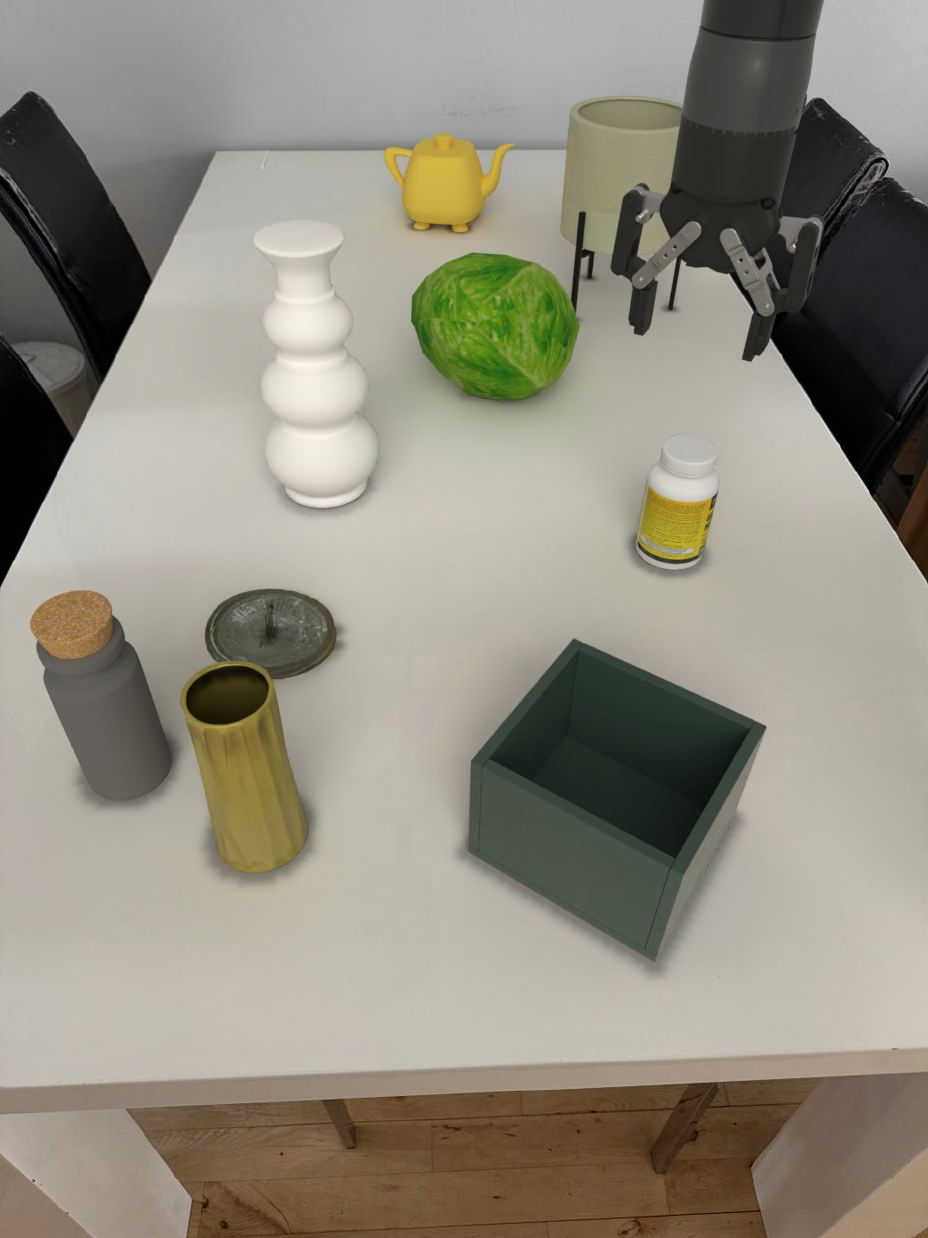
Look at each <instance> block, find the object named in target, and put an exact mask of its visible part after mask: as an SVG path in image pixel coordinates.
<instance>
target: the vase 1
mask: <svg viewBox="0 0 928 1238" xmlns="http://www.w3.org/2000/svg"><path fill="white" fill-rule="evenodd" d="M181 689H182V690H181V693H180V698H179V704H180V708H181V711H182V713H183V715H184V718H185V723H186V726H187V731H188V733H189V736H190V739H191V742H192V746H193V748H194V753H195V757H196V761H197V765H198V769H199V773H200V777H201V782H202V786H203V791H204V794H205V795H204V796H205V799H206V805H207V809H208V813H209V816H210V817H209V818H210V820H211V824H212V830H213V833H214V845H215V848H216V851H217V853H218V856H219V857H220V859H221V860H222V862H224V863H225V864H226V865H228V866H229V867H231V868H232V869H235V870H238V871H240V872H242V873H243V872H244V873H249V874H251V873H252V874H257V873H265V872H270V871H273V870H276V869H278V868H280V867H283V866H284V865H285V864H286V863H288V862H289V861H291V860H292V859H293V858H294V857H295V856H296V855H298V853H299V852H300V850H301V849H302V847H303V845H304V844H305V842H306V838H307V836H308V821H307V817H306V815H305V813H304V810H303V805H302V802H301V797H300V794H299V791H298V786H297V783H296V780H295V779H296V778H295V776H294V773H293V772H294V771H293V770H292V765H291V762H290V758H289V754H288V749H287V745H286V739H285V738H286V737H285V734H284V727H283V722H282V716H281V711H280V706H279V700H278V695H277V691H276V688H275V685H274V680H272V678H271V677H270V675H269V674H268V672H267V671H266V670H264V669H263V668H261V667H260V666H258V665H256V664H254V663H251V662H246V661H223V662H219V663H218V662H216V663H215V662H214V663H213V664H210V665H207V666H205V667H203V668H201V669H199V670H198V671H196V672H195V673H194V674H193V675H192V676H191V677H190V678H189V679H188V680H187V681H186V682H185V684H184V685H183V687H182V688H181Z"/></svg>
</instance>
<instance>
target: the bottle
mask: <svg viewBox="0 0 928 1238" xmlns="http://www.w3.org/2000/svg"><path fill="white" fill-rule="evenodd" d="M29 629H30V632H31V633H32V635H33V636H34V637H35V639H36V644H35V649H36V653H37V654H36V655H37V656H38V658H39V661H40V663H41V665H42V666H43V667H44V670H43V674H42V675H43V676H42V677H43V678H42V679H43V684H44V686H45V690H46V693H47V694H48V697H49V699H50V701H51V704H52V706H53V709H54V711H55V712H56V715H57V717H58V720H59V722H60V724H61V727H62V728H63V731H64V733H65V735H66V737H67V739H68V742H69V744H70V745H71V748H72V750H73V752H74V755H75V757H76V759H77V762H78V763H79V766H80V768H81V770H82V772H83V774H84V776H85V779H86V780H87V782H88V784H89V786H90V788H91V789H92V791H93V792H94V793H96V794H97V795H98V796H100V797H102V798H104V799H106V800H110V801H111V800H112V801H128V800H134V799H137V798H140V797H142V796H145V795H147V794H148V793H150V792H152V791H153V790H155V789H156V788H158V787H159V785H160V784H161V783H162V782H163V781H164V780H165V779H166V777H167V776H168V774H169V772H170V769H171V766H172V755H171V751H170V747H169V743H168V739H167V737H166V733H165V731H164V728H163V725H162V722H161V718H160V716H159V713H158V709H157V707H156V704H155V700H154V697H153V695H152V692H151V689H150V686H149V683H148V679H147V677H146V673H145V671H144V669H143V665H142V663H141V659H140V656H139V655H138V652H137V650H136V649H135V647H134V646H133V645H132V644H131V643H130V642H129V641H127V640H126V633H125V630H124V628H123V625H122V623H121V621H120V620H119V619H118V618H117V617H116V616H115V615H114V614H113V608H112V603H111V602H110V600H109V599H108V598H107V597H106V596H105V595H104V594H101V593H100V592H96V591H94V590H93V591H92V590H83V589H79V590H70V591H66V592H62V593H60V594H57V595H55V596H53V597H50V598H49V599H47V600H46V601H44V602H43V603H42V604H40V605H39V606H38V607H37V608H36V609H35V611H34V612H33V613H32V615H31V618H30V621H29Z"/></svg>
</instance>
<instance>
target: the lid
mask: <svg viewBox="0 0 928 1238" xmlns="http://www.w3.org/2000/svg"><path fill="white" fill-rule="evenodd" d="M336 627H337V626H336V625H335V621H334V617H333V615H332V613H331V611H330V609H329V608H328V607H326V606H325V604H323V603H322V602H320V601H319V600H318V599H317V598H313V597H311V596H309V595H308V594H304V593H301V592H298V591H295V590H291V589H290V590H288V589H283V588H259V589H258V588H257V589H251V590H247V591H244V592H240V593H237V594H235V595H232V596H230V597H229V598H227V599H225V600H224V601H222V602H220V603H219V604H218V605H217V606H216V607H215V609H214V610H213V611H212V613H211V614H210V615H209V618H208V619H207V622H206V625H205V628H204V642H205V646H206V647H205V648H206V650H207V652H208V654H209V655H210V657H211V658H212V659H213V661H215V662H216V663H219V662H223V661H246V662H251V663H254V664H256V665H258V666H260V667H261V668H263V669H264V670H266V671H267V672H268V674H269V675H270V677H271V678H272V681H274V680H275V681H276V680H284V679H285V680H286V679H290V678H293V677H297V676H300V675H302V674H303V675H304V674H305V673H308V672H310V671H312V670H314V669H315V668H316V667H318V666H320V665H321V664H323V662H324V661H325V660H326V659H327V658H329V656H330V655H331V653H332V652H333V651H334V650H335V648H336V647H335V646H336V643H337V639H338V632H337V628H336Z"/></svg>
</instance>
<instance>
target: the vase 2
mask: <svg viewBox="0 0 928 1238" xmlns="http://www.w3.org/2000/svg"><path fill="white" fill-rule="evenodd" d="M345 240H346V235H345V232H344V231H343V230H342V229H341V228H340V227H338V226H337V225H335V224H332V223H330V222H325V221H321V220H315V219H291V220H282V221H279V222H275V223H271V224H268V225H267V226H263V227H262V228H260V229H259V230H258V231H256V232H255V234H254V235H253V237H252V243H253V246H254V247H255V248H256V249H257V250H258V252H259V253H260V254H261V255H262V256H263V257H264V258H265V259H266V260H267V261H268V262H269V263H270V264H271V266H272V267H273V270H274V273H275V279H276V280H275V281H276V287H275V288H274V291H273V299H272V300H271V301H270V302H269V303H268V305H267V306H266V308H265V310H264V312H263V315H262V328H263V331H264V333H265V335H266V338H268V340H269V341H270V342H271V344H272V345H274V346H276V347H277V348H278V349H277V351H276V353H275V357H274V358H273V359H272V360H271V361H270V362H269V363H268V364H267V366H266V367H265V369H264V370H263V373H262V375H261V379H260V393H261V394H260V395H261V397H262V400H263V402H264V404H265V405H266V407H267V408H268V410H269V411H270V412H271V413H272V414H273V415H274V416H276V418H278V419H276V420H275V422H274V423H273V424H272V425H271V427H270V428H269V431H268V433H267V434H266V437H265V441H264V447H263V453H264V460H265V463H266V466H267V468H268V470H269V472H270V473H271V474H272V476H273V477H274V478H275V480H277V481H278V482H279V483H280V484H281V485H282V486H283V488H284V491H285V493H286V495H287V496H288V497H289V498H290V499H291V500H292V501H293V502H294V503H297V504H299V505H302V506H305V507H309V508H315V509H330V508H337V507H340V506H344V505H346V504H350V503H352V502H353V501H355V500H356V499H358V498H359V497H360V496H361V495H363V493H364V492H365V489H366V488H367V485H368V478H369V477H370V476H371V475H372V474H373V472H374V470H375V468H376V466H377V464H378V460H379V456H380V442H379V438H378V435H377V433H376V430H375V428H374V427H373V425H372V424H371V423H370V421H369V420H368V419H366V417H365V416H364V415H362V414H361V413H360V412H359V411H360V410H361V409H362V407H363V406H364V404H365V403H366V401H367V399H368V395H369V392H370V379H369V375H368V373H367V371H366V369H365V367H364V365H363V364H362V363H361V361H359V359H358V358H357V357H355V356H354V355H353V354H352V353H350V352H349V351H348V349H347V347H346V346H345V345H344V343H345V342H346V341H347V339H349V337H350V335H351V334H352V331H353V328H354V315H353V312H352V310H351V308H350V306H349V305H348V303H347V302H346V301H345V300H344V299H343V298H341V297H340V296H339V295H338V294H337V290H336V287H335V286H334V284H332V281H331V278H332V277H331V263H332V261H333V259H334V258H335V257H336V255H337V254H338V252H339V251H340V249H341V247H342V246H343V244H344V243H345Z"/></svg>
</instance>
